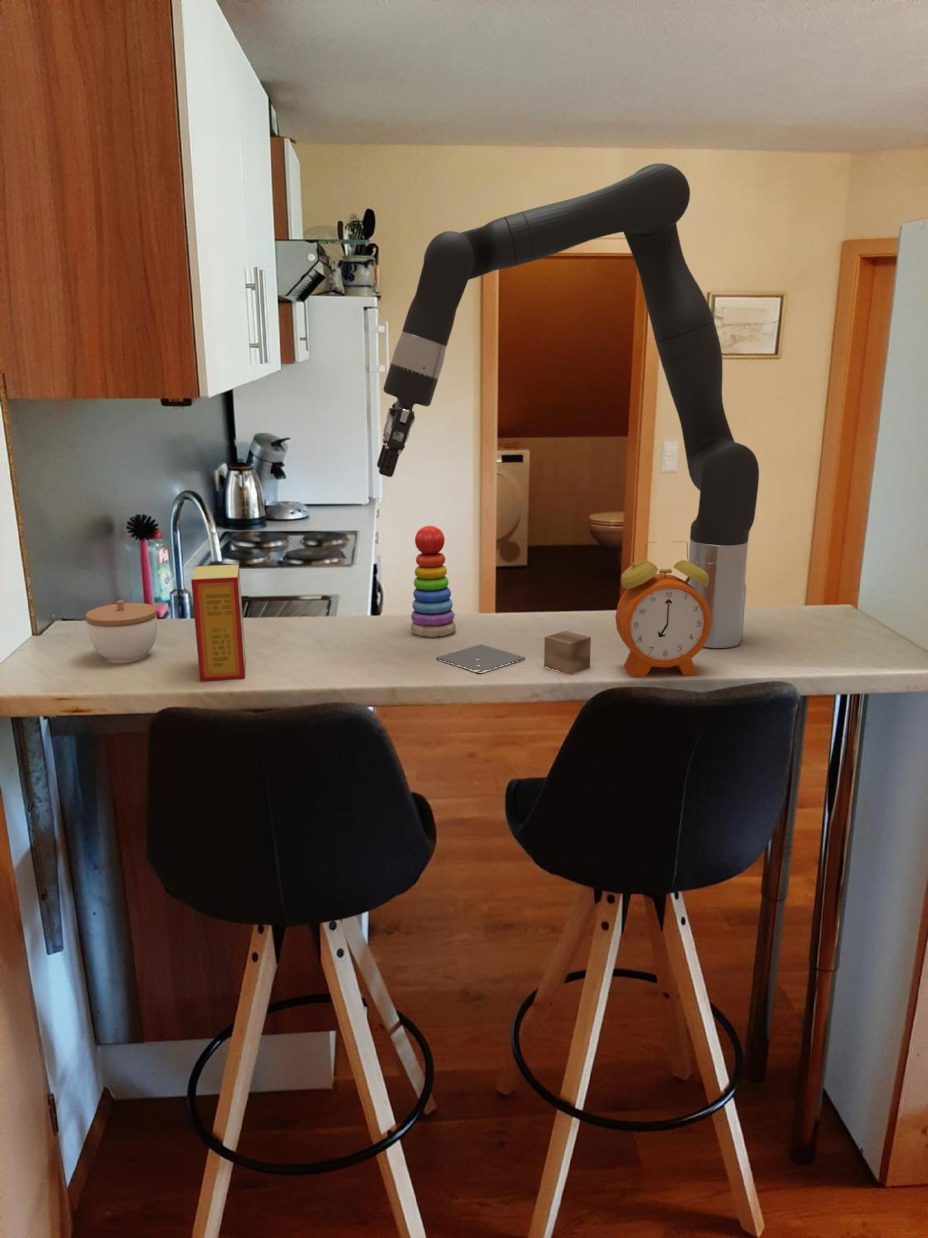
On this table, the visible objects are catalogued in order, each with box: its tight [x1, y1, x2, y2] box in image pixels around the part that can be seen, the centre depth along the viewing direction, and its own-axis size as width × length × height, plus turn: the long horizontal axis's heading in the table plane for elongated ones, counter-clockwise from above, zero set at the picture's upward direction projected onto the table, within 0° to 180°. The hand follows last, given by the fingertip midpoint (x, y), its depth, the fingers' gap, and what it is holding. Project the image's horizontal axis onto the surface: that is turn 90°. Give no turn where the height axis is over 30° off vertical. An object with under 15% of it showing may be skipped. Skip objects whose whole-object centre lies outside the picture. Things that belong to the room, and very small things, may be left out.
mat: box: [435, 643, 526, 672], centre depth 148 cm, size 10×10×1 cm
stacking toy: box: [410, 525, 457, 638], centre depth 161 cm, size 8×8×19 cm
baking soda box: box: [190, 563, 247, 683], centre depth 142 cm, size 10×6×16 cm
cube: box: [543, 630, 592, 675], centre depth 144 cm, size 5×5×5 cm
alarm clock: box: [614, 540, 711, 678], centre depth 140 cm, size 13×6×20 cm, turn 94°
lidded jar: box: [84, 600, 158, 664], centre depth 150 cm, size 11×11×9 cm
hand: (384, 472), depth 145 cm, fingers open, 8 cm apart
